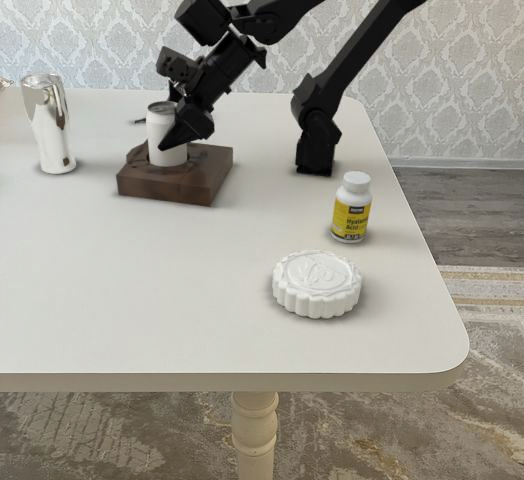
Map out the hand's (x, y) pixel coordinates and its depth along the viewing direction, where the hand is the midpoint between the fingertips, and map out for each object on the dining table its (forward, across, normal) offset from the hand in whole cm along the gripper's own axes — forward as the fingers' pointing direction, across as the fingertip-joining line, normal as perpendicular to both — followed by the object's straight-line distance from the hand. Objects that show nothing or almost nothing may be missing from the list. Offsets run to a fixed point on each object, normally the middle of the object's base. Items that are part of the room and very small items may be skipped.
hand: (157, 137), depth 100 cm
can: (+4, 0, +6) cm, 7 cm away
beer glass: (+18, -6, -8) cm, 20 cm away
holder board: (+3, +2, +7) cm, 8 cm away
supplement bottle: (-14, +23, +25) cm, 37 cm away
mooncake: (-8, +37, +18) cm, 42 cm away
